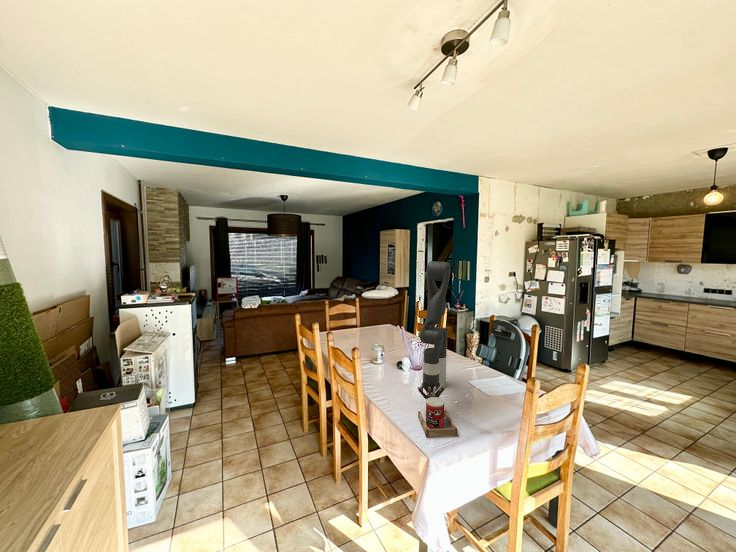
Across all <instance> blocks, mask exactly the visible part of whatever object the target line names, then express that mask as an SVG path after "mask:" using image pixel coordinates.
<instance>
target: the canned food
mask: <svg viewBox="0 0 736 552" xmlns="http://www.w3.org/2000/svg"><path fill="white" fill-rule="evenodd" d="M444 410H445V400H444V399H443V398H441V397H430V398H428V399H425V423H426V425H427V427H428V429H442V428H443V427H444V425H445V418H444Z"/></svg>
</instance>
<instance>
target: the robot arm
mask: <svg viewBox="0 0 736 552" xmlns="http://www.w3.org/2000/svg"><path fill="white" fill-rule="evenodd" d="M450 276H451V263H449V262H446V261H437V260H436V261H434V260H433V261H432V260H431V261H429V262H428V263H427V265H426V282H427V283H426V284H427V309H426V316H425V320H424V324H423V326H422V328H421V330H420V334H419V340H420V342H421V343H422V344H425V345H431V346H432V345H433V347H427V348H425V349H424V350H423V361H422V362H423V364H422V383H421V386H418V387H417V391H418V392H419V394H420V395H421V396H422V397H423V398H424V399H425V400H427V399H428V398H430V397H438V398H440V397H441V395H442V394H443V393H444V391H445V390H446V389H445V388H446V387H447V347H448V330H447V328H446V327H440V326H439V327H438V326H437V325H441V323H442V318H443V316H444V315H445V313H446V306H447V301H446V295H447V292H448V286H449V282H450ZM437 281H438V282H441V284H440V287H438V286H437V283H436V282H437ZM436 326H437V327H436ZM424 391H425V392H426V393H425V392H424Z"/></svg>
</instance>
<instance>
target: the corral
mask: <svg viewBox="0 0 736 552" xmlns="http://www.w3.org/2000/svg"><path fill="white" fill-rule="evenodd" d="M417 419H418V420H419V422H420V425H421V428H422V430H423V433H424V435H425V438H427V439H428V438H443V437H444V438H445V437H458V433H459V431H458V430H459V429H458V428H457V426H456V424H455V423H454V421H453V418H451V415H449V413H448V411H447V410H446V409H444V420H445V421H446V423H447V425H448V426H449V427H447V428H442V429H430V428H428V427H427V425H426V420H425V419H424V416H423V414H422V411H421V410H418V411H417Z"/></svg>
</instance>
